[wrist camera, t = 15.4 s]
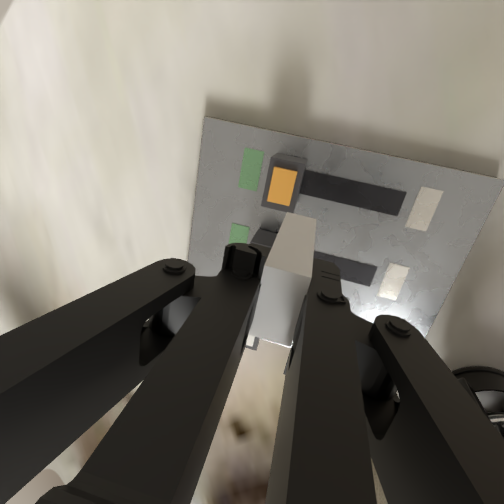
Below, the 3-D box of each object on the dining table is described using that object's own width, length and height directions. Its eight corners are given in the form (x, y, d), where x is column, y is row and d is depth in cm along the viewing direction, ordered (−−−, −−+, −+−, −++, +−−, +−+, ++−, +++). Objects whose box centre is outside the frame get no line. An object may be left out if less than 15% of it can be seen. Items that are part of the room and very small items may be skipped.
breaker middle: (276, 271, 35) (270, 290, 31) (250, 265, 36) (241, 282, 32) (285, 235, 33) (280, 250, 30) (258, 228, 34) (249, 242, 30)
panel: (400, 371, 39) (403, 381, 37) (186, 309, 42) (181, 316, 41) (497, 177, 29) (506, 180, 28) (209, 117, 32) (204, 116, 31)
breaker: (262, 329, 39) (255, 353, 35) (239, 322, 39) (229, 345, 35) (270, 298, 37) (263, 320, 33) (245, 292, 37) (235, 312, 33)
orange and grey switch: (296, 203, 32) (292, 215, 28) (267, 196, 32) (260, 207, 28) (307, 159, 30) (305, 165, 26) (277, 152, 31) (270, 157, 27)
